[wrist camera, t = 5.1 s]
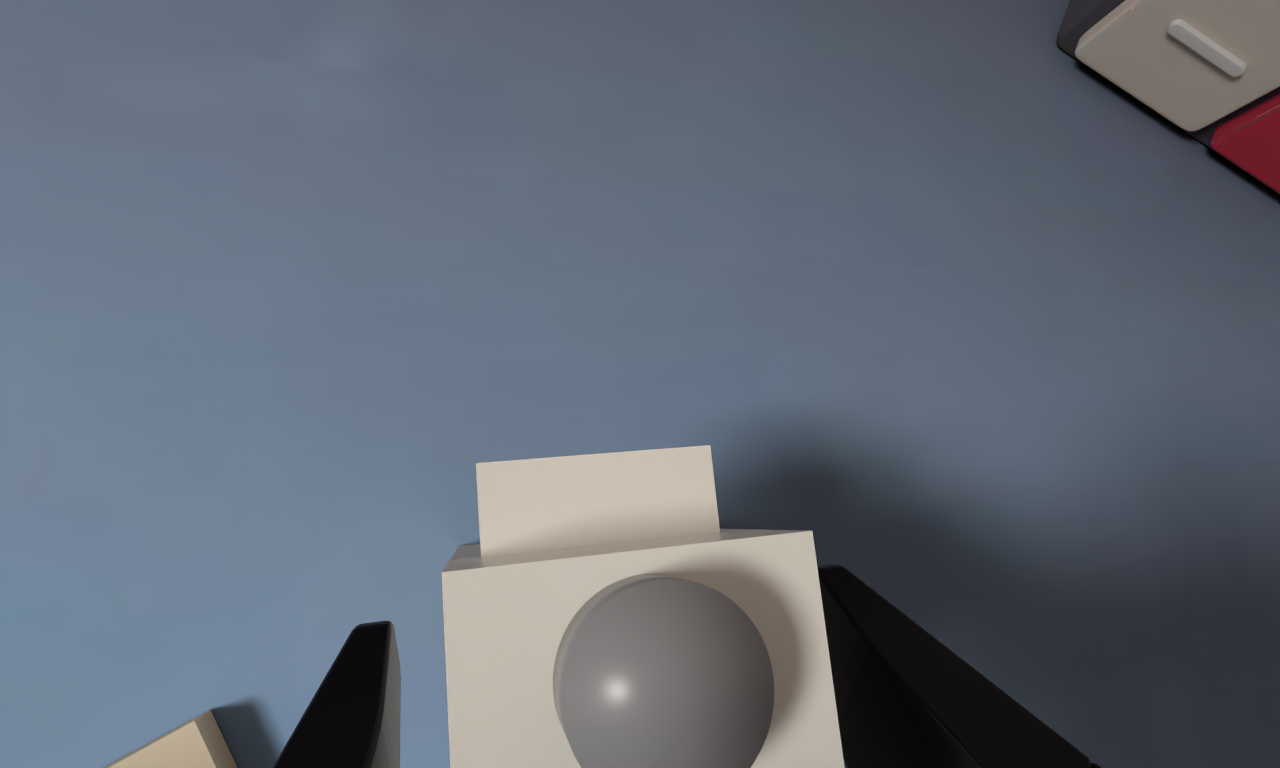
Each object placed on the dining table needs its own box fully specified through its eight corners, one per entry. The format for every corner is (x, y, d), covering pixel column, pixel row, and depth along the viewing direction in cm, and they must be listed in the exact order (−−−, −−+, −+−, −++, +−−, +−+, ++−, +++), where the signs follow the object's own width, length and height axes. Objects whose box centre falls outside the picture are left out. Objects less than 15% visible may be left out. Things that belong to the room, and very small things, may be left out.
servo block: (665, 797, 15) (946, 1199, 6) (473, 836, 14) (473, 1381, 5) (634, 474, 16) (832, 413, 7) (455, 489, 15) (431, 441, 6)
